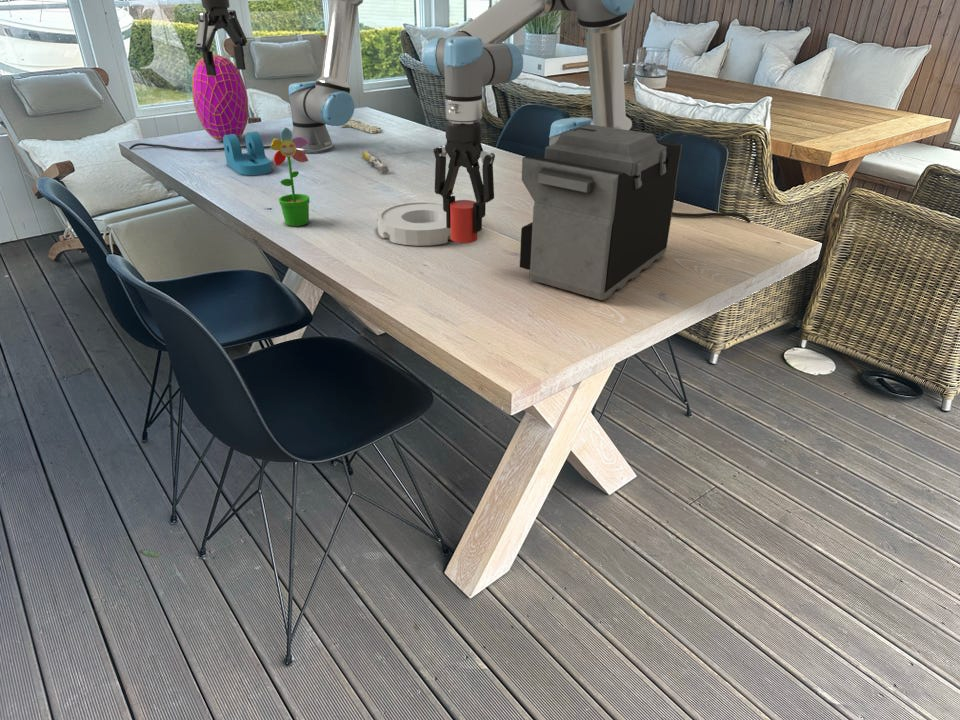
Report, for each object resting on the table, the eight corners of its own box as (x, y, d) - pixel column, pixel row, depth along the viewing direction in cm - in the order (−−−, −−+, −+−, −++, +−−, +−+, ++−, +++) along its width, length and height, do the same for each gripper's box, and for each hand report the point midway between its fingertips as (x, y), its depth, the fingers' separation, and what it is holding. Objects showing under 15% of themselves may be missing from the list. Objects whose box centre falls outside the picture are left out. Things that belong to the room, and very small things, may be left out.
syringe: (360, 156, 244) (360, 148, 243) (371, 155, 246) (370, 147, 244) (377, 174, 224) (377, 166, 223) (389, 173, 226) (388, 165, 224)
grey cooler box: (589, 234, 178) (601, 114, 162) (670, 254, 167) (691, 126, 151) (511, 281, 152) (516, 142, 137) (601, 307, 141) (617, 160, 126)
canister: (456, 232, 156) (455, 198, 152) (481, 235, 155) (481, 201, 151) (446, 241, 151) (446, 206, 147) (472, 244, 150) (472, 209, 146)
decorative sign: (331, 121, 290) (351, 118, 296) (331, 123, 291) (352, 120, 296) (366, 132, 273) (387, 128, 279) (366, 134, 274) (387, 131, 280)
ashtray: (385, 214, 190) (384, 200, 188) (468, 216, 189) (468, 202, 187) (371, 244, 170) (369, 229, 168) (464, 246, 170) (464, 231, 167)
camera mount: (227, 164, 233) (221, 132, 227) (257, 160, 238) (252, 129, 233) (244, 176, 220) (239, 143, 215) (276, 172, 225) (271, 139, 220)
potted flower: (284, 229, 179) (270, 130, 166) (277, 220, 185) (263, 124, 172) (319, 224, 183) (308, 127, 170) (311, 215, 188) (300, 121, 176)
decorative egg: (239, 132, 274) (226, 50, 259) (262, 141, 262) (250, 56, 247) (192, 139, 263) (176, 54, 248) (214, 149, 251) (198, 60, 236)
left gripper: (194, -6, 185) (209, 78, 196) (252, -9, 205) (262, 67, 216) (172, -6, 188) (188, 77, 198) (231, -10, 208) (242, 66, 218)
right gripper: (414, 118, 141) (418, 226, 153) (496, 129, 133) (494, 241, 145) (433, 112, 147) (436, 216, 159) (513, 122, 139) (510, 231, 151)
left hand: (226, 72), depth 207 cm, fingers open, 13 cm apart
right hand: (464, 228), depth 152 cm, fingers closed on canister, 6 cm apart
